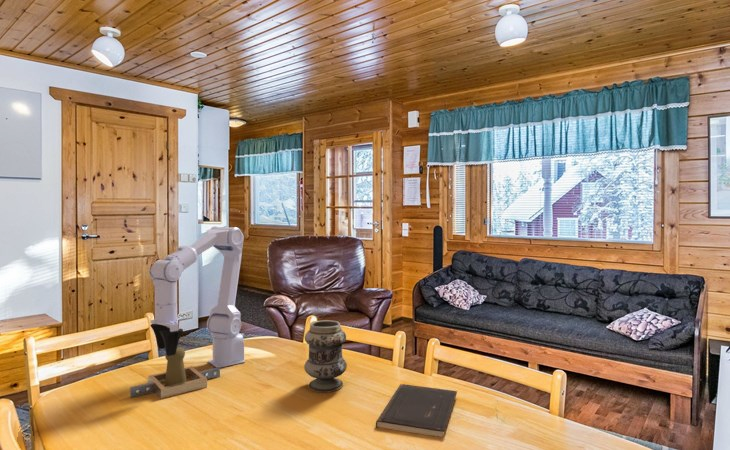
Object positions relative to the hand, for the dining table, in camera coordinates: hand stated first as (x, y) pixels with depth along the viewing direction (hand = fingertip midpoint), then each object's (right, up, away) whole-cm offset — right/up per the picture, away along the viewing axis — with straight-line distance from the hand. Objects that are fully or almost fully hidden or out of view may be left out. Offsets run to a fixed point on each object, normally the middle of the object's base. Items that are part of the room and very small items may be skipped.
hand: (166, 351), depth 131 cm
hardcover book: (+69, -12, -13) cm, 71 cm away
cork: (+2, -11, +2) cm, 11 cm away
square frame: (+2, -10, +2) cm, 11 cm away
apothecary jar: (+44, -11, +3) cm, 45 cm away
